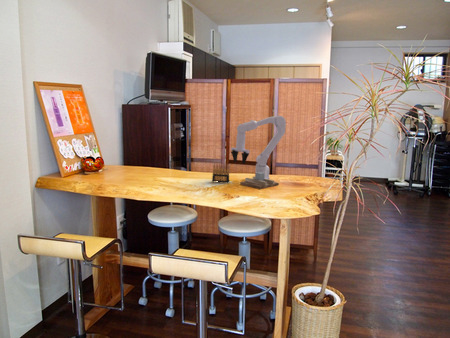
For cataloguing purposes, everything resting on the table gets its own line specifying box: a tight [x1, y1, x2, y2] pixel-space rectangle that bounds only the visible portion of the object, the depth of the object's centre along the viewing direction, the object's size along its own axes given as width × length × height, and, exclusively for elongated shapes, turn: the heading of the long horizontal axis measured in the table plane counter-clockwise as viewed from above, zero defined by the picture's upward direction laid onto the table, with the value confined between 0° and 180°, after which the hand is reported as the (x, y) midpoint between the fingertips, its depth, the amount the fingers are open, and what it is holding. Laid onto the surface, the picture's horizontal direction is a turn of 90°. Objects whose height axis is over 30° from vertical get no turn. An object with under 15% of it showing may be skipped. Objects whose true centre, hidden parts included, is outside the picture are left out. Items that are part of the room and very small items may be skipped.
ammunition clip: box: [211, 162, 230, 183], centre depth 234 cm, size 11×2×12 cm, turn 80°
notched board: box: [239, 175, 280, 190], centre depth 231 cm, size 18×16×4 cm
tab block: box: [254, 172, 265, 181], centre depth 231 cm, size 4×4×6 cm
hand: (239, 162), depth 249 cm, fingers open, 7 cm apart
